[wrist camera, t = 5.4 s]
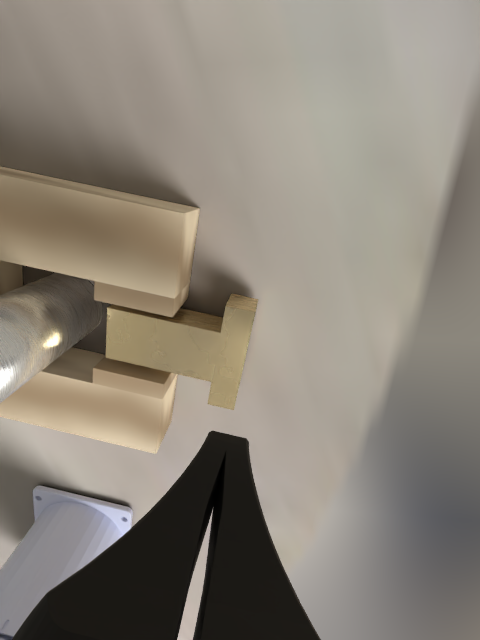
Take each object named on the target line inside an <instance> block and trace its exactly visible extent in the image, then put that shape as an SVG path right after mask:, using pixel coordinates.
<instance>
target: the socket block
mask: <svg viewBox="0 0 480 640" xmlns="http://www.w3.org/2000/svg"><path fill="white" fill-rule="evenodd" d="M199 212H200V208H196V207H192V206H187V205H182V204H177V203H173V202H168V201H163V200H158V199H154V198H149V197H144V196H139V195H135V194H130V193H125V192H120V191H116V190H111V189H106V188H101V187H96V186H92V185H87V184H82V183H77V182H73V181H68V180H63V179H58V178H54V177H49V176H44V175H39V174H35V173H30V172H25V171H20V170H16V169H11V168H6V167H1V166H0V295H2V294H4V293H7V292H9V291H12V290H14V289H16V288H19V287H21V286H23V273H22V265H24V266H29V267H33V268H38V269H42V270H47V271H52V272H56V273H61V274H65V275H70V276H74V277H79V278H83V279H88V280H92V281H95V282H94V300H96V301H101V302H105V303H110V304H114V305H119V306H123V307H128V308H132V309H137V310H141V311H146V312H150V313H155V314H159V315H164V316H168V317H173V316H174V314H175V313H176V312H177V311H178V310H179V308H180V307H181V306H182V305H183V303H184V302H185V301H186V300H187V298H188V293H189V286H190V278H191V271H192V263H193V256H194V249H195V241H196V234H197V226H198V219H199ZM177 375H178V374H175V373H171V372H166V371H162V370H158V369H153V368H149V367H145V366H140V365H136V364H131V363H127V362H123V361H118V360H114V359H110V358H106V355H104V354H100V353H95V352H91V351H87V350H82V349H78V348H73V347H71V348H70V349H68V350H67V351H66V352H65V353H63V354H62V355H61V356H59V357H58V358H57V359H56V360H54V361H53V362H52V363H51V364H49V365H48V366H47V367H45V368H44V369H43V370H42V371H40V372H39V373H38V374H37V375H35V376H34V377H33V378H32V379H30V380H29V381H28V382H26V383H25V384H24V385H23V386H21V387H20V388H19V389H18V390H16V391H15V392H14V393H12V394H11V395H10V396H9V397H7V398H6V399H5V400H4V401H2V402H1V403H0V417H4V418H8V419H12V420H16V421H21V422H25V423H29V424H33V425H37V426H42V427H46V428H50V429H54V430H58V431H63V432H67V433H71V434H75V435H79V436H84V437H88V438H92V439H96V440H100V441H105V442H109V443H113V444H117V445H121V446H126V447H130V448H134V449H138V450H142V451H147V452H151V453H155V454H156V453H157V451H158V448H159V446H160V444H161V442H162V440H163V438H164V436H165V433H166V431H167V429H168V427H169V425H170V423H171V419H172V412H173V404H174V397H175V390H176V382H177Z"/></svg>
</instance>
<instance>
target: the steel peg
mask: <svg viewBox="0 0 480 640" xmlns="http://www.w3.org/2000/svg"><path fill="white" fill-rule="evenodd" d="M102 316H103V303H102V302H101V301H96V300H94V286H93V285H92V284H91V283H90V282H89V281H88V280H87V279H83V278H79V277H74V276H70V275H65V274H61V273H53V274H51V275H48V276H46V277H44V278H41V279H39V280H36V281H34V282H31V283H29V284H26V285H24V286H21V287H19V288H16V289H14V290H12V291H9V292H7V293H4V294H2V295H0V403H1V402H2V401H4V400H5V399H6V398H7V397H9V396H10V395H11V394H12V393H14V392H15V391H16V390H18V389H19V388H20V387H21V386H23V385H24V384H25V383H26V382H28V381H29V380H30V379H32V378H33V377H34V376H35V375H37V374H38V373H39V372H40V371H42V370H43V369H44V368H45V367H47V366H48V365H49V364H51V363H52V362H53V361H54V360H56V359H57V358H58V357H59V356H61V355H62V354H63V353H65V352H66V351H67V350H68V349H70V348H71V347H72V346H73V345H75V344H76V343H77V342H79V341H80V340H81V339H82V338H84V337H85V336H86V335H87V334H89V333H90V332H91V331H92V330H94V329H95V328H96V327H97V326H98V325H99V323H100V322H101V319H102Z"/></svg>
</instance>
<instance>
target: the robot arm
mask: <svg viewBox="0 0 480 640" xmlns="http://www.w3.org/2000/svg"><path fill="white" fill-rule="evenodd" d="M33 505H34V518H35V522H34V524H33V525H32V527H31V528H30V529H29V531H28V532H27V533H26V535H25V536H24V538H23V539H22V540H21V542H20V543H19V544H18V546H17V547H16V549H15V550H14V551H13V553H12V554H11V555H10V557H9V558H8V560H7V561H6V562H5V564H4V565H3V566H2V568H1V569H0V640H177V637H178V633H179V629H180V624H181V620H182V616H183V611H184V607H185V602H186V598H187V594H188V589H189V586H190V582H191V578H192V575H193V571H194V568H195V565H196V562H197V558H198V555H199V552H200V549H201V545H202V542H203V539H204V536H205V532H206V529H207V526H208V523H209V519H210V516H211V513H212V510H213V515H212V523H211V531H210V539H209V547H208V556H207V564H206V572H205V579H204V586H203V592H202V597H201V602H200V607H199V612H198V617H197V622H196V627H195V632H194V637H193V640H321V639H320V638H319V636H318V634H317V632H316V631H315V629H314V627H313V625H312V624H311V622H310V620H309V618H308V616H307V614H306V612H305V611H304V609H303V607H302V605H301V603H300V601H299V599H298V597H297V595H296V593H295V591H294V589H293V587H292V585H291V583H290V580H289V578H288V576H287V574H286V572H285V570H284V568H283V566H282V563H281V561H280V559H279V556H278V554H277V551H276V549H275V546H274V544H273V541H272V539H271V536H270V533H269V531H268V528H267V525H266V522H265V519H264V516H263V512H262V509H261V506H260V502H259V499H258V495H257V491H256V487H255V483H254V479H253V474H252V469H251V463H250V456H249V442H248V440H247V439H246V438H242V437H237V436H233V435H229V434H224V433H220V432H216V431H211V432H209V433H208V436H207V438H206V440H205V442H204V444H203V445H202V447H201V449H200V450H199V452H198V453H197V455H196V456H195V458H194V459H193V460H192V462H191V463H190V464H189V466H188V467H187V469H186V470H185V471H184V473H183V474H182V475H181V476H180V478H179V479H178V480H177V481H176V482H175V483H174V485H173V486H172V487H171V488H170V489H169V491H168V492H167V493H166V494H165V495H164V496H163V497H162V498H161V499H160V501H159V502H158V503H157V504H156V505H155V506H154V507H153V508H152V509H151V510H150V511H149V512H148V513H147V514H146V515H145V516H144V517H143V518H142V519H141V520H139V521H138V522H137V523H136V524H135V525H134V526H133V527H132V528H131V526H132V515H133V512H132V510H131V508H129V507H126V506H122V505H118V504H114V503H110V502H106V501H102V500H98V499H94V498H90V497H86V496H82V495H77V494H73V493H69V492H65V491H61V490H57V489H53V488H49V487H45V486H40V485H38V486H36V487H35V488H34V489H33ZM213 506H214V507H213Z"/></svg>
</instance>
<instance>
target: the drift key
mask: <svg viewBox="0 0 480 640" xmlns="http://www.w3.org/2000/svg"><path fill="white" fill-rule="evenodd" d="M257 303H258V299H254V298H249V297H245V296H240V295H236V294H231V295H230V298H229V300H228V302H227V304H226V306H225V312H224V317H218V316H214V315H209V314H205V313H200V312H196V311H191V310H187V309H182V308H179V310H178V311H177V312H176V313H175V314H174V316H173V317H168V316H164V315H159V314H155V313H150V312H146V311H141V310H137V309H132V308H128V307H123V306H119V305H114V304H112V305H110V306H109V307H108V308H107V331H106V358H110V359H114V360H118V361H123V362H127V363H131V364H136V365H140V366H145V367H149V368H153V369H158V370H162V371H166V372H171V373H175V374H179V375H184V376H188V377H193V378H197V379H201V380H206V381H210V382H212V383H211V388H210V394H209V399H208V404H210V405H214V406H218V407H223V408H227V409H231V410H234V406H235V402H236V397H237V393H238V388H239V384H240V379H241V375H242V370H243V366H244V361H245V357H246V352H247V348H248V343H249V339H250V334H251V330H252V325H253V321H254V317H255V312H256V307H257Z"/></svg>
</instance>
